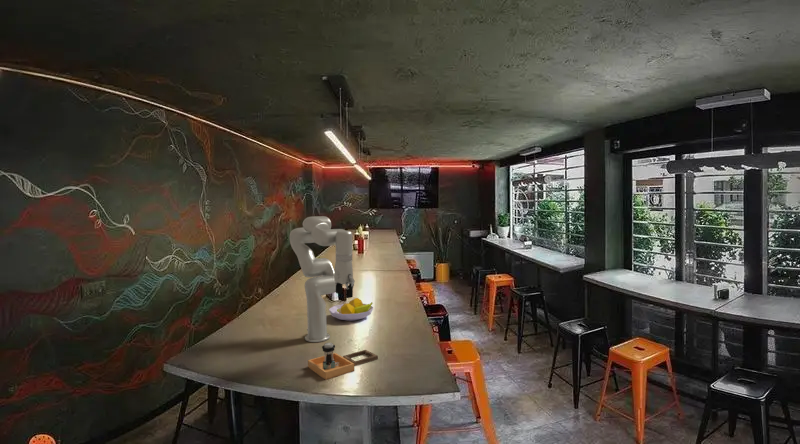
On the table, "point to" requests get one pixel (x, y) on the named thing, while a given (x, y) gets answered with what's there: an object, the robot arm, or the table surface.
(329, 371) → the parts tray
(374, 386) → the table surface
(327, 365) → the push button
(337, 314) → the fruit bowl
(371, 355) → the component holder
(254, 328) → the table surface
